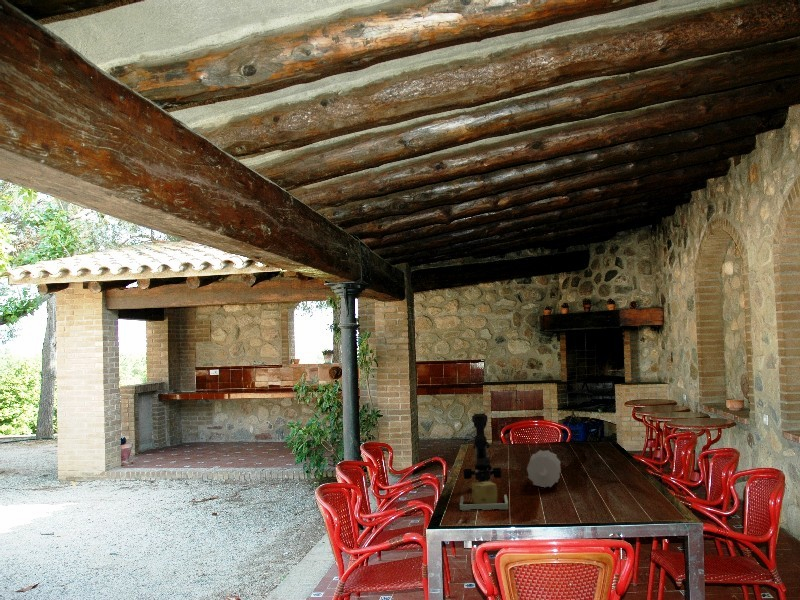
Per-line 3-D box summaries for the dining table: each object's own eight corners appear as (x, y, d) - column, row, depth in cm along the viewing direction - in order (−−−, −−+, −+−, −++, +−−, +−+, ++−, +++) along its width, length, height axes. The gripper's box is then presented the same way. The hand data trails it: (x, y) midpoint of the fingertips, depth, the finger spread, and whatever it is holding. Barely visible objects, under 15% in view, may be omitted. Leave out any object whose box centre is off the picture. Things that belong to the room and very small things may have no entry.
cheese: (476, 507, 334) (475, 486, 334) (471, 502, 345) (470, 481, 345) (498, 505, 335) (496, 484, 336) (492, 500, 346) (491, 480, 346)
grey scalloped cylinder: (554, 487, 387) (553, 495, 363) (523, 473, 392) (521, 480, 368) (566, 456, 387) (566, 462, 363) (536, 443, 392) (534, 448, 368)
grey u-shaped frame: (461, 501, 348) (460, 496, 349) (506, 499, 346) (506, 494, 346) (460, 510, 329) (459, 505, 330) (508, 509, 327) (508, 503, 327)
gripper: (462, 452, 353) (463, 478, 342) (499, 450, 351) (501, 477, 339) (463, 465, 361) (464, 491, 349) (500, 464, 358) (502, 490, 347)
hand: (483, 487), depth 346 cm, fingers closed
